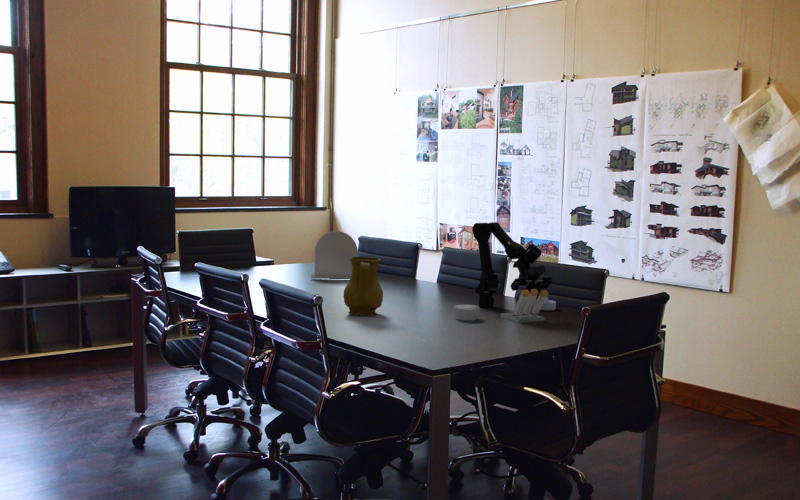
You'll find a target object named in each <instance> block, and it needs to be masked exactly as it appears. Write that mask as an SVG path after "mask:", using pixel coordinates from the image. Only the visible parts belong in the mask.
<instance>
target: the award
mask: <svg viewBox="0 0 800 500" xmlns="http://www.w3.org/2000/svg"><path fill="white" fill-rule="evenodd" d="M358 250H359V249H358V247H357V243H356V241H355V240H354V239H353V237H352V236H351V235H349V234H348V233H345V232H344V231H340V230H333V231H329V232H326V233H325V234H323V235H321V237H320V238H319V239H318V241H317V243H316V245H315V247H314V274H311V275H310V277H311V278H329V279H350V278H351V274H352V263H351V261H350V260H349V258H350V257H359V256H358V255H359V254H358V253H359V251H358ZM311 278H310V279H311Z"/></svg>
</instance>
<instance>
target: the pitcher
mask: <svg viewBox="0 0 800 500" xmlns="http://www.w3.org/2000/svg"><path fill="white" fill-rule="evenodd" d="M349 260H350V261H351V263H352V274H351V278H350V281H348V282H347V285H345V287H344V289H343V301H344V305H345V306H346V307H347V308H348V309H349V311H348V312H347V313H348V314H350V315H354V316H355V315H356V316H363V317H369V316H370V317H372V316H378V313H377V312H376V310H377V309H378V308H381V307H382V305H383V301H384V299H383V298H384V292H383V291H384V290H383V288H382V286H381V284H380V282H379V279H378V266H379V264H380V263H381V262H382V259H381V258H379V257H371V256H358V257H350V258H349Z"/></svg>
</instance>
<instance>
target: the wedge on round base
mask: <svg viewBox="0 0 800 500" xmlns="http://www.w3.org/2000/svg"><path fill="white" fill-rule="evenodd" d="M528 297H529V296H528ZM527 299H528V298H527ZM536 300H537V299H535V302H536ZM526 301H527V300H526ZM535 302H534V304H535ZM534 304H533V305H534ZM556 307H557V302H556V300H552V299H551V300H550V298H549V297H548V296H547V297H546V299H545V301H544V303H543V305H542V307H541V309H540V311H555V310H556Z"/></svg>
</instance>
